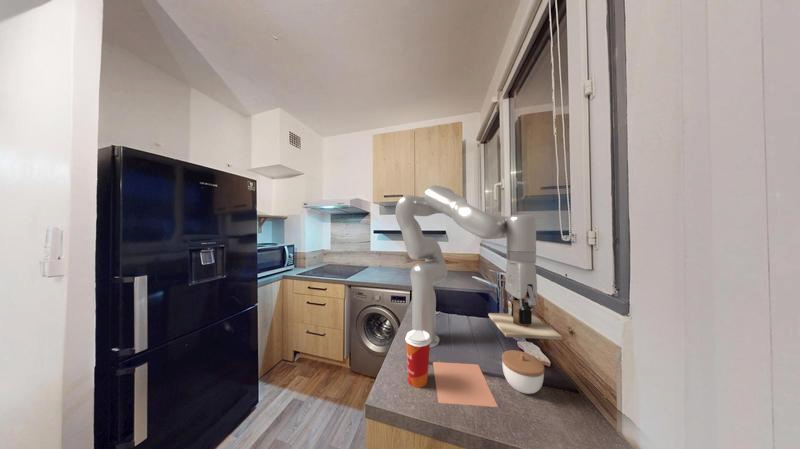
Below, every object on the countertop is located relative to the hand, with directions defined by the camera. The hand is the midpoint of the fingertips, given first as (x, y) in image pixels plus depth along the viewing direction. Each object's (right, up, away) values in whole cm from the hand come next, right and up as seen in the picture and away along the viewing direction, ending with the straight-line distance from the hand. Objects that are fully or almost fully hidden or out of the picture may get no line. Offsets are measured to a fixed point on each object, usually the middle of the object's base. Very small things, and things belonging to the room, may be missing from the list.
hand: (521, 319), depth 63 cm
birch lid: (0, -2, 0) cm, 2 cm away
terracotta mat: (-17, -19, +1) cm, 26 cm away
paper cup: (-30, -19, +1) cm, 36 cm away
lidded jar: (0, -20, 0) cm, 20 cm away
